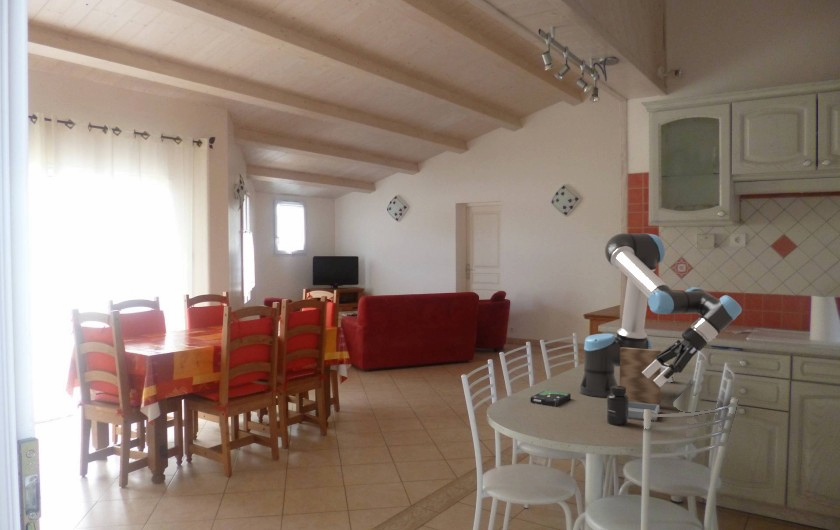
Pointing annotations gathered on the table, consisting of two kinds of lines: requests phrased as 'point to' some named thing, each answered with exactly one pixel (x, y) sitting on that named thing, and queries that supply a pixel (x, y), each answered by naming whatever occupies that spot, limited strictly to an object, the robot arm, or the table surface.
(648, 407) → the tray
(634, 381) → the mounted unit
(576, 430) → the table surface
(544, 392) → the disk drive
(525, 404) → the table surface
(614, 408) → the supplement bottle
